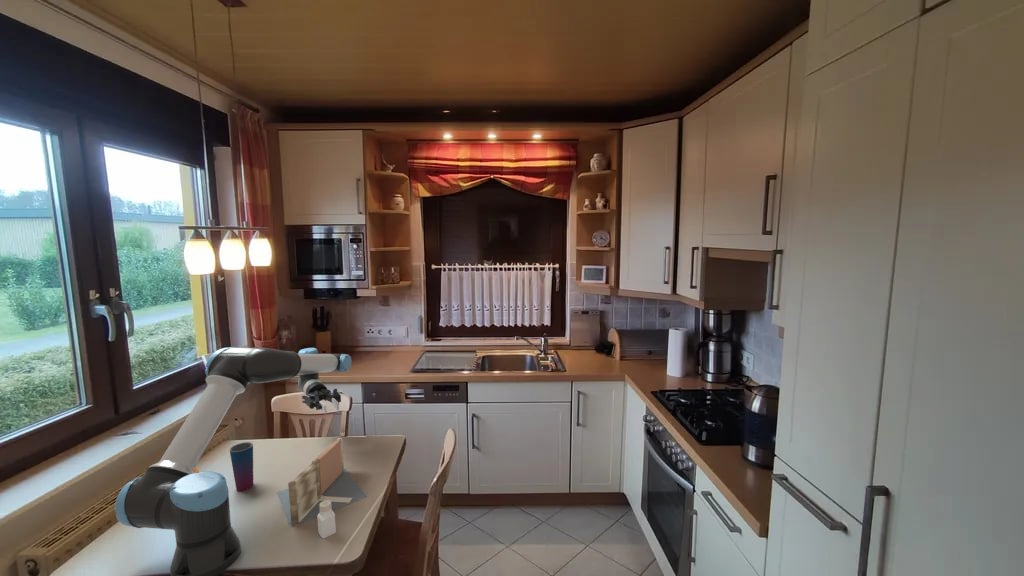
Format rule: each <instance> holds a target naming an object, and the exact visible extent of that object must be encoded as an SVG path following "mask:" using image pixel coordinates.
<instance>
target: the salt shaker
mask: <svg viewBox="0 0 1024 576" xmlns="http://www.w3.org/2000/svg"><path fill="white" fill-rule="evenodd" d="M319 506H320V513H319V514H318V515H317V517H316V518H317V519H316V520H317V530H318V531H317V532H318V534H319V536H320V538H321V539H325V538H326V539H327V538H328V537H330V536H332V535H334V534H335V533H336V532H337V528H336V527H337V526H336V513H335V512H334V510H331V509H332V507H331V501H330V500H325V501H323V502H321V503H320V504H319Z"/></svg>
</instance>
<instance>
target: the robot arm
mask: <svg viewBox="0 0 1024 576" xmlns="http://www.w3.org/2000/svg"><path fill="white" fill-rule="evenodd" d="M351 367H352V356H351V355H350V354H345V353H319V351H318V349H317V348H316V347H307V348H302V349H300V350H299V351H298V353H297V352H295V351H292V350H281V349H275V348H268V347H240V346H230V347H223V348H220V349H218V350H216V351H214V353H212V354H211V355H210V357H209V358H208V359H207V361H206V363H205V368H206V369H205V370H204V371H205V375H206V377H205V382H206V385H207V386H206V387H205V389H204V390H203V392H202V394H201V395H200V397H199V398H198V400H197V401H196V404H194V406H193V408H192V409H191V411H190V413H188V416H187V417H186V419H185V421H184V422H183V423H182V424H181V426H180V428H179V430H178V432H176V435H175V436H174V437H173V439H172V441H171V443H170V444H169V445H168V447H167V449H166V450H165V452H164V453H163V455H162V457H161V458H160V459H159V461H157V462H156V463H153V464H152V465H149V466H148V467H147V468H146V471H144V474H142V476H139V477H136V478H133V480H131V481H128V482H127V483H125V485H124V486H123V487H122V488H121V490H120V491H119V493H118V495H117V498H116V499H115V503H114V512H115V518H116V519H117V521H118V522H119V523H120V524H122V525H124V526H127V527H132V528H136V529H142V528H146V529H159V530H171V531H172V530H173V531H174V535H175V543H176V544H175V549H174V553H173V557H172V560H171V563H170V567H169V573H170V576H220V574H222V573H223V572H224V571H227V569H229V568H230V567H231V566H232V565H233V564H234V563H236V561H237V560H238V558H239V557H240V555H241V552H242V546H241V540H240V538H239V537H238V535H237V534H236V532H235V530H234V528H233V526H232V523H231V511H230V497H229V495H230V494H229V493H230V491H229V486H228V484H227V479H226V477H225V476H224V475H223V474H221V473H220V472H217V471H209V470H205V471H200V472H198V473H194V472H193V470H194V468H196V466H197V464H198V462H199V461H200V460H201V457H202V456H203V455H204V452H205V451H206V449H207V447H208V445H209V443H210V441H211V440H212V438H213V436H214V435H215V433H216V431H217V429H218V427H220V424H221V422H222V421H223V419H224V417H225V416H226V414H227V412H228V410H229V409H230V407H231V405H232V403H233V402H234V400H235V398H236V397H237V396H238V395H239V394H243V393H244V392H246V389H247V387H248V386H249V384H264V383H270V382H277V381H283V380H289V379H290V380H291V379H293V378H295V377H297V376H299V378H298V382H297V383H298V384H297V385H298V387H299V389H300V391H301V392H303V393H304V394H305V395H301V401H302V402H301V403H303V404H305V405H306V406H308V408H309V409H311V410H313V409H315V410H316V411H319V410H321V411H322V413H323V414H327V412H328V411H327V404H325V403H324V402H323V401H325V402H329V403H331V405H332V407H333V408H334V409H335V410H336V411H339V410H340V403H342V396H341V394H340V393H339V391H338V389H337V388H334V389H332V390H330V389H328V387H327V386H326V385H324V383H323V382H322V381H321V380H320V374H324V373H346V372H348V371H350V370H351Z"/></svg>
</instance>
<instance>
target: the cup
mask: <svg viewBox="0 0 1024 576" xmlns="http://www.w3.org/2000/svg"><path fill="white" fill-rule="evenodd" d="M229 454H230V455H229V456H230V461H231V467H232V471H233V477H234V483H235V484H234V485H235V490H236V491H237V492H244V491H245V492H246V491H248V490H250V489H252V488H253V487H254V444H253V442H251V441H243V442H240V443H237V444H234V445H232V446H231V447H230V448H229ZM252 486H253V487H252Z"/></svg>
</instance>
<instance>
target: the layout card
mask: <svg viewBox="0 0 1024 576" xmlns="http://www.w3.org/2000/svg"><path fill="white" fill-rule="evenodd" d="M276 494H277V497H278V499H279V502H280V504H281V507H282V510H283V512H284V515H285V518H286V520H287V522H288V525H289V528H292V527H294V526H296V525H299V524H302V523H304V522H306V521H309V520H312V519H314V518H317V515H318V514H319V513H320V506H319V504H320V503H321V502H323V501H325V500H330V501H331V507H332V509H331V510H333V511H334V510H336V509H339V508H343V507H344V506H347V505H349V504H353V503H354V502H357V501H360V500H362V499H364V498H366V497H367V495H366V494H365V492H364V491H363V489H362V488H361V487H360V485H359V484H358V483H357V482H356V480H355V479H354V477H353V476H352V474H351V473H350V472H349V471H348V469H347V468H344V472H342V473H341V474H340V475H339V476H338V477H337V479H336V480H335V481H334V482H333V483H332V484H331V485H330V486H329V487H328V488H327V489H326V490H325V492H324V493H323V494H322V495H321V498H320V499H319V500H317V501H316V503H315V504H314V505H313V506H312V507H311V508H310V509H309V510H308V511H307V512H306V513H305V515H304V516H303V517H302V518H301V519H300V520H299V523H298V524H296V525H291V514H290V501H289V488H286V489H283V490H279V491H277V492H276Z"/></svg>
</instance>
